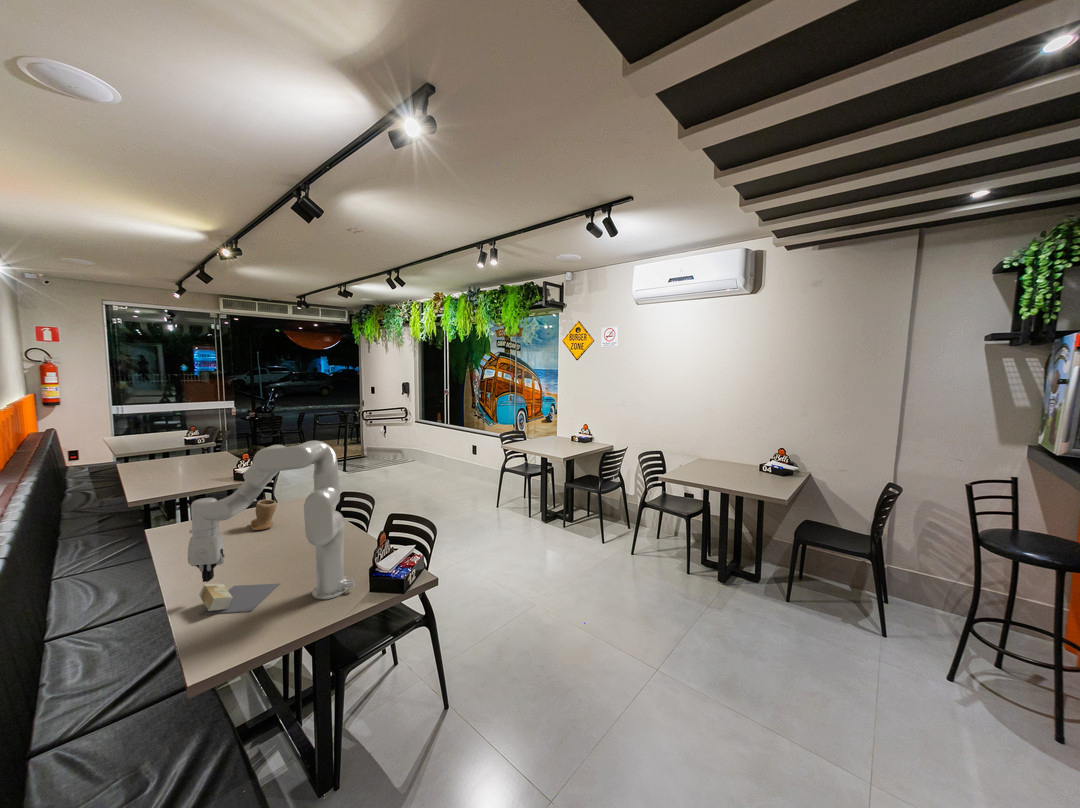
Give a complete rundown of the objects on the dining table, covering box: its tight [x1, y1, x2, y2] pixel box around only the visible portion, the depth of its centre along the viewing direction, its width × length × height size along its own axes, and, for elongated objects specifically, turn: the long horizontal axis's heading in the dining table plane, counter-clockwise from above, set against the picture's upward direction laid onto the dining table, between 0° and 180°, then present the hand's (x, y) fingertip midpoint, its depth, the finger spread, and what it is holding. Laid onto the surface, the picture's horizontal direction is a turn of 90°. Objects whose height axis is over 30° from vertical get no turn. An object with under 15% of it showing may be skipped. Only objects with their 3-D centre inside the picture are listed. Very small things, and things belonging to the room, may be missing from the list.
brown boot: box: [250, 499, 277, 531], centre depth 221 cm, size 15×12×15 cm
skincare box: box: [199, 583, 233, 611], centre depth 143 cm, size 6×4×12 cm
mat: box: [198, 583, 280, 616], centre depth 149 cm, size 17×19×1 cm
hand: (208, 579), depth 148 cm, fingers closed
